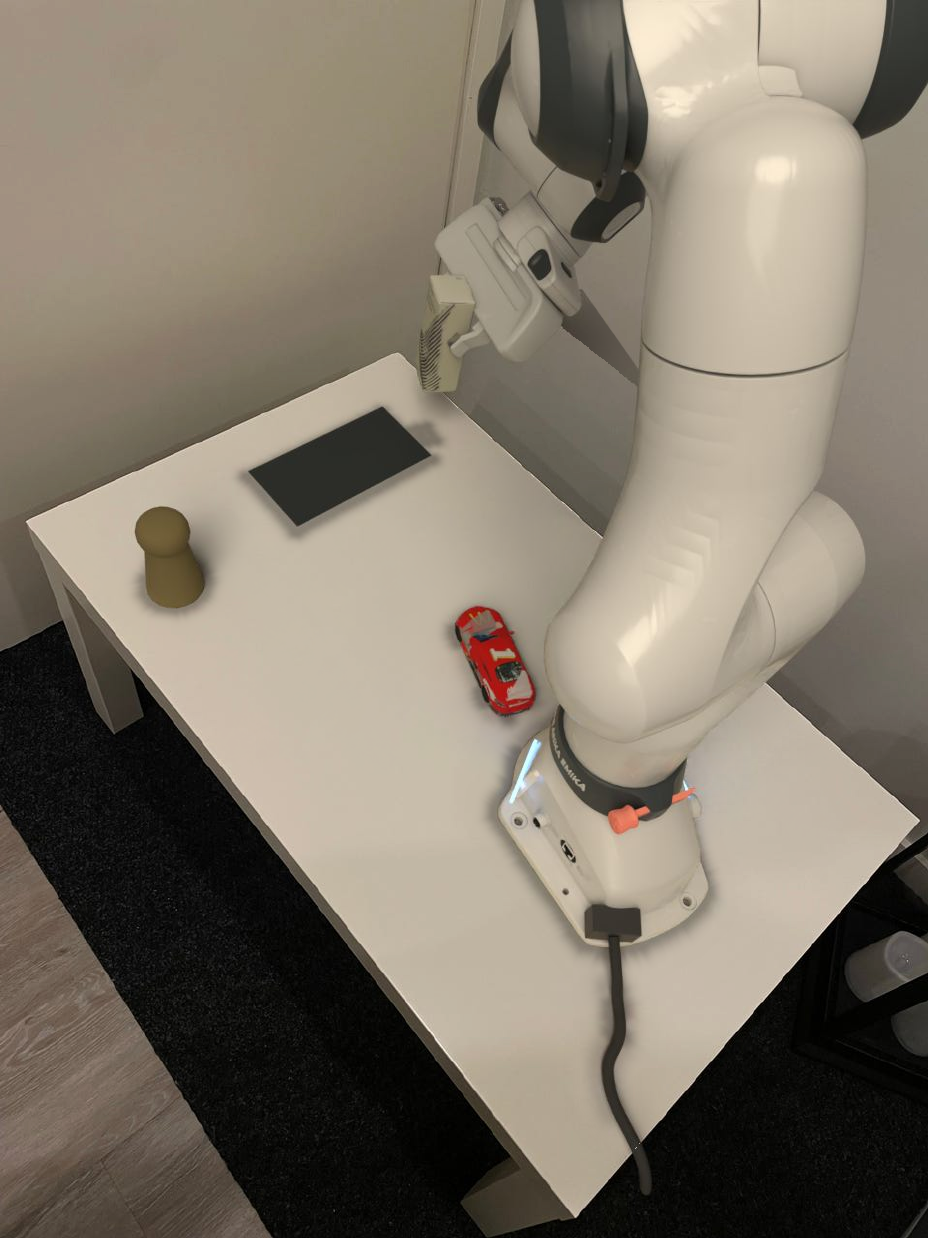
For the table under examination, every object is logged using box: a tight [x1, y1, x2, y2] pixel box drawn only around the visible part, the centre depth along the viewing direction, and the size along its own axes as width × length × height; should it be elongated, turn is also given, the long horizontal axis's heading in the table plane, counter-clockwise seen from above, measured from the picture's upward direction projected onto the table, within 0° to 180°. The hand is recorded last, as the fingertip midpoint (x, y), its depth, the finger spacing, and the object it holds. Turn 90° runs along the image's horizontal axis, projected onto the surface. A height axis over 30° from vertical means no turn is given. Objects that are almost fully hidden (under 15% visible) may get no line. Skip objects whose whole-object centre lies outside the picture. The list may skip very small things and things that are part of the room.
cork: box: [134, 505, 206, 609], centre depth 89 cm, size 6×6×11 cm
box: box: [414, 274, 475, 393], centre depth 100 cm, size 5×4×13 cm
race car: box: [454, 605, 536, 718], centre depth 92 cm, size 13×5×4 cm, turn 20°
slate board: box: [247, 406, 432, 528], centre depth 105 cm, size 20×10×1 cm, turn 131°
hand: (441, 331), depth 99 cm, fingers closed on box, 5 cm apart
